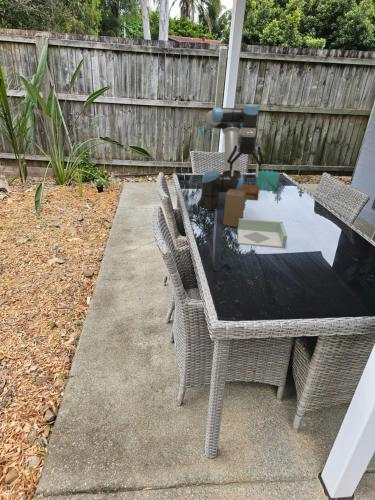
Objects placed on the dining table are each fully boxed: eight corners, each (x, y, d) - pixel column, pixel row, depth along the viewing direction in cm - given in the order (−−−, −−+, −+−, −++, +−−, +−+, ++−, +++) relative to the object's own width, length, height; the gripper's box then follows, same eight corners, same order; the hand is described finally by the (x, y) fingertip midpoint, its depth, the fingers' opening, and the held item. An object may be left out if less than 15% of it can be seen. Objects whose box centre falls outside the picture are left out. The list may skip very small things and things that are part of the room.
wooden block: (242, 222, 197) (246, 190, 188) (239, 228, 189) (243, 194, 180) (226, 219, 200) (229, 188, 191) (222, 225, 192) (225, 192, 183)
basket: (260, 183, 280) (263, 168, 274) (281, 187, 270) (283, 172, 265) (251, 188, 266) (253, 172, 260) (272, 192, 256) (274, 176, 250)
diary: (257, 201, 237) (258, 193, 235) (231, 199, 240) (232, 191, 237) (257, 192, 257) (258, 185, 255) (233, 190, 260) (234, 183, 258)
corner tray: (238, 244, 169) (239, 232, 166) (237, 229, 187) (239, 218, 184) (285, 248, 167) (287, 236, 164) (280, 232, 184) (282, 221, 181)
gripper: (225, 136, 169) (222, 177, 178) (273, 137, 169) (267, 178, 178) (224, 134, 176) (221, 174, 185) (269, 136, 176) (265, 175, 185)
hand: (244, 176), depth 181 cm, fingers open, 13 cm apart
